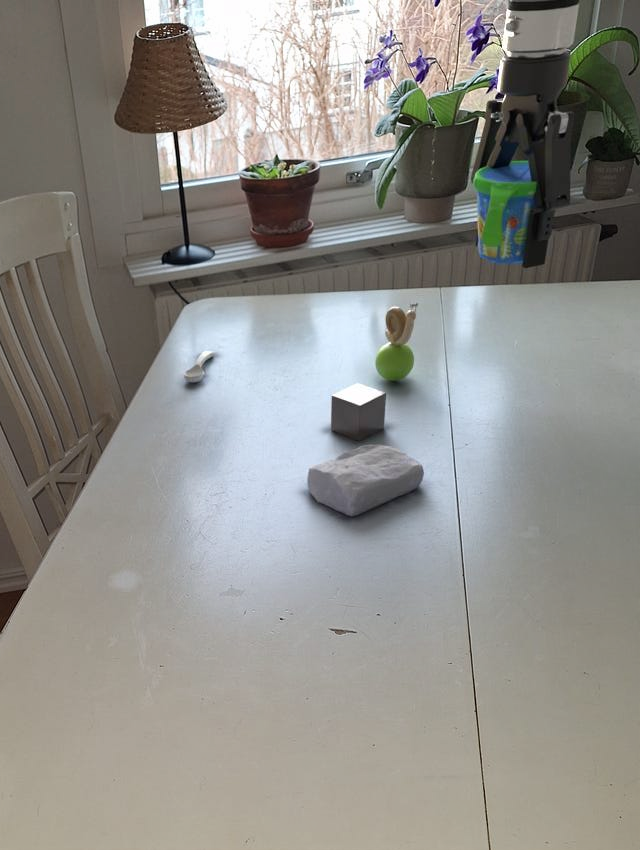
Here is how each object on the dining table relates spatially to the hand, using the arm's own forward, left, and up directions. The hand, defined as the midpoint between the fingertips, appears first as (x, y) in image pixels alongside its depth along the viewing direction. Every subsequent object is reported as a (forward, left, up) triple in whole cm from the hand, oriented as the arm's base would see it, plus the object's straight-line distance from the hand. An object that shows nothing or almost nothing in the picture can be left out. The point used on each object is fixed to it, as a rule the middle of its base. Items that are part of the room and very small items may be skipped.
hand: (508, 254), depth 118 cm
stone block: (-17, +29, -18) cm, 38 cm away
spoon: (+27, +34, -18) cm, 47 cm away
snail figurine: (+8, +10, -18) cm, 22 cm away
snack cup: (0, 0, 0) cm, 0 cm away
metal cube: (-3, +22, -18) cm, 29 cm away
